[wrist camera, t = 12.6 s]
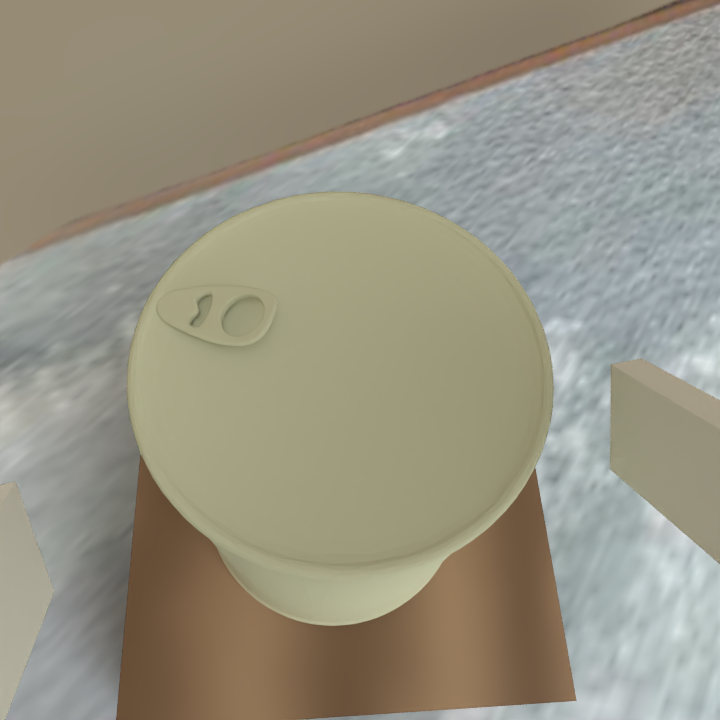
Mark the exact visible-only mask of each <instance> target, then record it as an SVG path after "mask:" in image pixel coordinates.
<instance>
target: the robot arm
mask: <svg viewBox="0 0 720 720" xmlns="http://www.w3.org/2000/svg"><path fill="white" fill-rule="evenodd" d="M610 469H611V470H612V471H613V472H614V473H615V474H616V475H618V476H619V477H620V478H621V479H622V480H623V481H625V482H626V483H627V484H628V485H629V486H630V487H631V488H633V489H634V490H635V491H636V492H637V493H638V494H640V495H641V496H642V497H643V498H644V499H645V500H646V501H648V502H649V503H650V504H651V505H652V506H653V507H655V508H656V509H657V510H658V511H659V512H660V513H661V514H663V515H664V516H665V517H666V518H667V519H668V520H670V521H671V522H672V523H673V524H674V525H675V526H676V527H678V528H679V529H680V530H681V531H682V532H683V533H685V534H686V535H687V536H688V537H689V538H690V539H692V540H693V541H694V542H695V543H696V544H697V545H698V546H700V547H701V548H702V549H703V550H704V551H705V552H707V553H708V554H709V555H710V556H711V557H712V558H713V559H715V560H716V561H717V562H718V563H719V564H720V400H718V399H716V398H714V397H712V396H711V395H709V394H707V393H705V392H703V391H701V390H699V389H697V388H696V387H694V386H692V385H690V384H688V383H686V382H684V381H682V380H681V379H679V378H677V377H675V376H673V375H671V374H669V373H667V372H666V371H664V370H662V369H660V368H658V367H656V366H654V365H652V364H651V363H649V362H647V361H645V360H643V359H637V360H632V361H627V362H622V363H617V364H611V428H610ZM53 594H54V589H53V587H52V584H51V581H50V578H49V575H48V572H47V570H46V567H45V564H44V561H43V558H42V555H41V553H40V550H39V547H38V544H37V541H36V538H35V536H34V533H33V530H32V527H31V524H30V521H29V519H28V516H27V513H26V510H25V507H24V504H23V502H22V499H21V496H20V493H19V490H18V487H17V485H16V482H13V483H8V484H3V485H0V720H5V719H6V717H7V714H8V711H9V709H10V706H11V704H12V701H13V698H14V696H15V693H16V690H17V688H18V685H19V683H20V680H21V677H22V675H23V672H24V670H25V667H26V664H27V662H28V659H29V657H30V654H31V651H32V649H33V646H34V643H35V641H36V638H37V636H38V633H39V630H40V628H41V625H42V623H43V620H44V617H45V615H46V612H47V610H48V607H49V604H50V602H51V599H52V597H53Z"/></svg>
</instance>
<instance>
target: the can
mask: <svg viewBox="0 0 720 720" xmlns="http://www.w3.org/2000/svg"><path fill="white" fill-rule="evenodd" d="M553 390H554V387H553V371H552V362H551V357H550V351H549V347H548V343H547V340H546V336H545V333H544V329H543V327H542V324H541V322H540V320H539V317H538V315H537V312H536V310H535V308H534V306H533V304H532V302H531V301H530V299H529V297H528V295H527V294H526V292H525V291H524V289H523V288H522V286H521V285H520V283H519V282H518V280H517V279H516V277H515V276H514V275H513V273H512V272H511V271H510V270H509V269H508V268H507V266H506V265H505V264H504V263H503V262H502V261H501V260H500V259H499V258H498V257H497V256H496V255H495V254H494V253H493V252H492V251H491V250H490V249H489V248H488V247H487V246H486V245H485V244H483V243H482V242H481V241H480V240H478V239H477V238H476V237H474V236H473V235H471V234H470V233H469V232H467V231H466V230H464V229H463V228H461V227H460V226H458V225H457V224H455V223H453V222H451V221H449V220H448V219H446V218H444V217H442V216H440V215H438V214H436V213H434V212H431V211H429V210H427V209H425V208H422V207H419V206H416V205H413V204H411V203H408V202H405V201H401V200H397V199H393V198H389V197H384V196H379V195H373V194H367V193H356V192H319V193H309V194H302V195H295V196H291V197H286V198H282V199H277V200H274V201H271V202H268V203H265V204H262V205H259V206H256V207H253V208H251V209H249V210H247V211H244V212H242V213H240V214H238V215H236V216H233V217H231V218H230V219H228V220H226V221H225V222H223V223H221V224H219V225H218V226H216V227H214V228H213V229H212V230H210V231H209V232H207V233H206V234H204V235H203V236H202V237H201V238H199V239H198V240H197V241H196V242H195V243H194V244H192V245H191V246H190V247H189V248H188V249H187V250H186V251H185V252H184V253H183V254H182V255H181V256H180V257H178V258H177V259H176V260H175V262H174V263H173V264H172V265H171V267H170V268H169V269H168V270H167V272H166V273H165V274H164V275H163V276H162V278H161V279H160V281H159V282H158V284H157V285H156V287H155V288H154V290H153V291H152V293H151V295H150V297H149V298H148V300H147V302H146V304H145V307H144V309H143V311H142V313H141V315H140V318H139V321H138V323H137V326H136V329H135V332H134V336H133V339H132V343H131V347H130V353H129V360H128V369H127V400H128V407H129V414H130V421H131V424H132V428H133V432H134V436H135V439H136V442H137V445H138V447H139V450H140V453H141V455H142V457H143V459H144V461H145V463H146V465H147V467H148V469H149V471H150V473H151V475H152V477H153V479H154V480H155V482H156V483H157V485H158V487H159V488H160V490H161V491H162V493H163V494H164V495H165V496H166V497H167V499H168V500H169V501H170V502H171V504H172V505H173V506H174V507H175V508H176V509H177V510H178V512H179V513H180V514H181V515H182V516H183V517H184V518H185V519H186V520H187V521H188V522H189V523H190V524H192V525H193V526H194V527H195V528H196V529H197V530H198V531H200V532H201V533H202V534H204V535H205V536H206V537H208V538H209V539H210V540H211V541H212V542H213V544H214V545H215V546H216V547H217V550H218V552H219V554H220V556H221V558H222V560H223V562H224V564H225V565H226V567H227V569H228V570H229V572H230V573H231V574H232V576H233V577H234V578H235V580H236V581H237V582H238V583H239V584H240V585H241V586H242V587H243V589H244V590H245V591H246V592H247V593H249V594H250V595H251V596H252V597H253V598H254V599H256V600H257V601H258V602H260V603H261V604H263V605H264V606H266V607H267V608H269V609H271V610H273V611H275V612H277V613H279V614H281V615H283V616H285V617H288V618H291V619H294V620H297V621H300V622H304V623H309V624H315V625H325V626H339V625H350V624H357V623H361V622H365V621H369V620H372V619H375V618H378V617H380V616H383V615H385V614H387V613H389V612H391V611H393V610H395V609H396V608H398V607H400V606H401V605H403V604H404V603H406V602H407V601H408V600H410V599H411V598H412V597H413V596H415V595H416V594H417V593H418V592H419V591H420V590H421V589H422V588H423V587H424V586H425V585H426V584H427V583H428V582H429V581H430V579H431V578H432V577H433V576H434V574H435V573H436V571H437V570H438V568H439V567H440V565H441V564H442V562H443V561H444V560H445V559H446V558H447V557H448V556H449V555H450V554H452V553H453V552H455V551H457V550H459V549H460V548H462V547H463V546H465V545H467V544H468V543H470V542H471V541H473V540H474V539H475V538H476V537H478V536H479V535H480V534H482V533H483V532H484V531H485V530H487V529H488V528H489V527H490V526H491V525H492V524H493V523H494V522H495V521H496V520H497V519H498V518H499V517H500V516H501V515H502V514H503V513H504V512H505V511H506V510H507V509H508V508H509V506H510V505H511V504H512V503H513V502H514V500H515V499H516V498H517V496H518V495H519V493H520V492H521V491H522V489H523V488H524V486H525V485H526V483H527V481H528V479H529V478H530V476H531V474H532V472H533V470H534V469H535V466H536V464H537V462H538V460H539V458H540V455H541V452H542V450H543V447H544V444H545V441H546V437H547V433H548V429H549V425H550V421H551V415H552V408H553Z"/></svg>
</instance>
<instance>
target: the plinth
mask: <svg viewBox="0 0 720 720" xmlns="http://www.w3.org/2000/svg"><path fill="white" fill-rule="evenodd" d="M566 701H576V696H575V690H574V684H573V679H572V673H571V667H570V662H569V656H568V650H567V645H566V639H565V634H564V628H563V622H562V617H561V611H560V605H559V600H558V594H557V588H556V583H555V577H554V571H553V566H552V560H551V555H550V549H549V543H548V538H547V532H546V526H545V521H544V515H543V509H542V504H541V498H540V492H539V487H538V481H537V476H536V470H535V469H534V470H533V472H532V474H531V476H530V478H529V479H528V481H527V483H526V485H525V486H524V488H523V489H522V491H521V492H520V493H519V495H518V496H517V498H516V499H515V500H514V502H513V503H512V504H511V505H510V506H509V508H508V509H507V510H506V511H505V512H504V513H503V514H502V515H501V516H500V517H499V518H498V519H497V520H496V521H495V522H494V523H493V524H492V525H491V526H490V527H489V528H488V529H487V530H485V531H484V532H483V533H482V534H480V535H479V536H478V537H476V538H475V539H474V540H473V541H471V542H470V543H468V544H467V545H465V546H463V547H462V548H460V549H459V550H457V551H455V552H453V553H452V554H450V555H449V556H448V557H447V558H446V559H445V560H444V561H443V562H442V564H441V565H440V567H439V568H438V570H437V571H436V573H435V574H434V576H433V577H432V578H431V579H430V581H429V582H428V583H427V584H426V585H425V586H424V587H423V588H422V589H421V590H420V591H419V592H418V593H417V594H416V595H415V596H413V597H412V598H411V599H410V600H408V601H407V602H406V603H404V604H403V605H401V606H400V607H398V608H396V609H395V610H393V611H391V612H389V613H387V614H385V615H383V616H380V617H378V618H375V619H372V620H369V621H365V622H361V623H357V624H350V625H339V626H325V625H315V624H309V623H304V622H300V621H297V620H294V619H291V618H288V617H285V616H283V615H281V614H279V613H277V612H275V611H273V610H271V609H269V608H267V607H266V606H264V605H263V604H261V603H260V602H258V601H257V600H256V599H254V598H253V597H252V596H251V595H250V594H249V593H247V592H246V591H245V590H244V589H243V587H242V586H241V585H240V584H239V583H238V582H237V581H236V580H235V578H234V577H233V576H232V574H231V573H230V572H229V570H228V569H227V567H226V565H225V564H224V562H223V560H222V558H221V556H220V554H219V552H218V550H217V547H216V546H215V545H214V544H213V542H212V541H211V540H210V539H209V538H208V537H206V536H205V535H204V534H202V533H201V532H200V531H198V530H197V529H196V528H195V527H194V526H193V525H192V524H190V523H189V522H188V521H187V520H186V519H185V518H184V517H183V516H182V515H181V514H180V513H179V512H178V510H177V509H176V508H175V507H174V506H173V505H172V504H171V502H170V501H169V500H168V499H167V497H166V496H165V495H164V494H163V493H162V491H161V490H160V488H159V487H158V485H157V483H156V482H155V480H154V479H153V477H152V475H151V473H150V471H149V469H148V467H147V465H146V463H145V461H144V459H143V457H142V455H140V465H139V476H138V487H137V498H136V509H135V520H134V531H133V542H132V553H131V564H130V575H129V586H128V596H127V607H126V618H125V629H124V640H123V651H122V662H121V673H120V684H119V695H118V706H117V717H116V720H299V719H314V718H329V717H343V716H358V715H373V714H388V713H403V712H417V711H432V710H447V709H462V708H477V707H491V706H506V705H521V704H536V703H551V702H566Z"/></svg>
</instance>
